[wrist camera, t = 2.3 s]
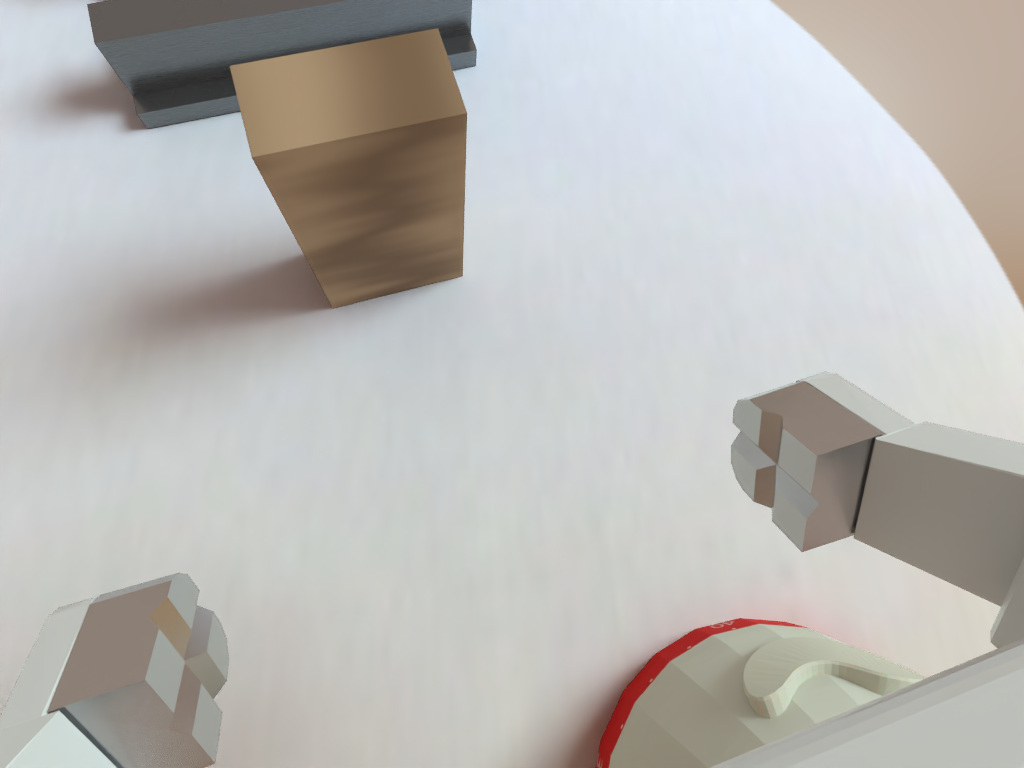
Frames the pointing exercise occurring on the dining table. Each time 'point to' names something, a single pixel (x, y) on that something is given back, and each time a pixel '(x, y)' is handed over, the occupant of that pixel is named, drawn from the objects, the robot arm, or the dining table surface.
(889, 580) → the dining table surface
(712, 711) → the kitchen timer
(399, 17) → the door track
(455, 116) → the wooden block
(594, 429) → the dining table surface
